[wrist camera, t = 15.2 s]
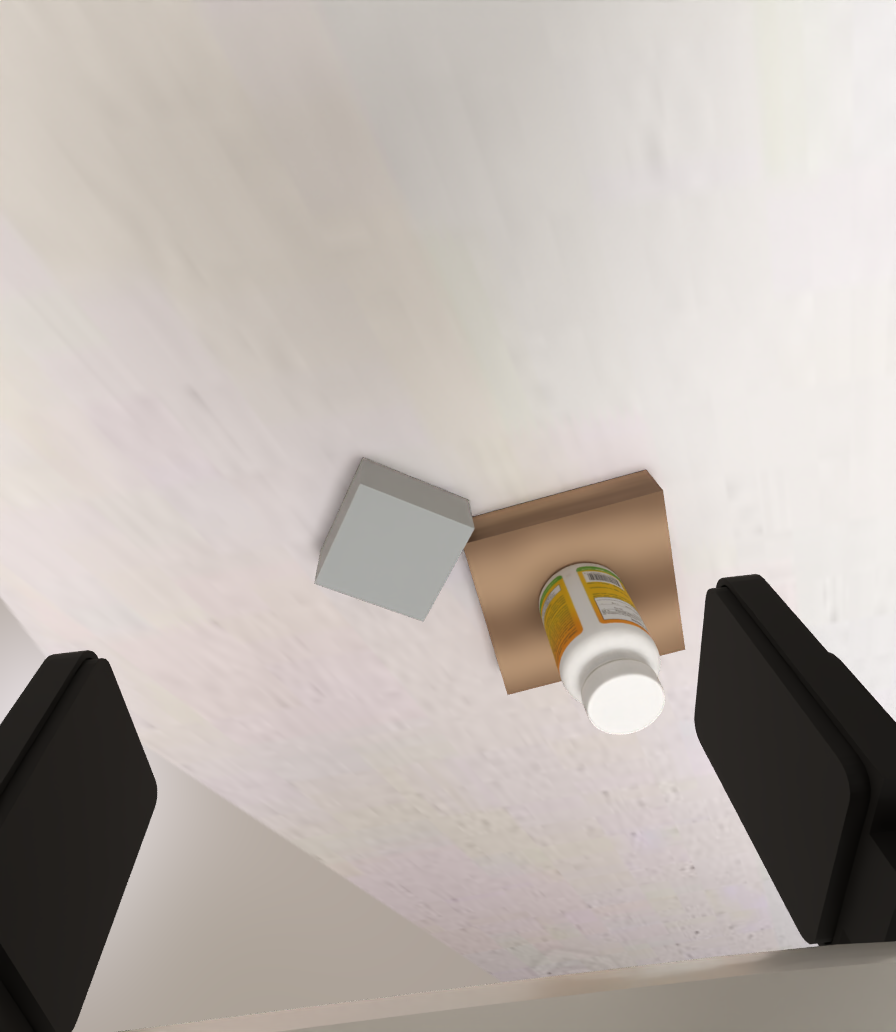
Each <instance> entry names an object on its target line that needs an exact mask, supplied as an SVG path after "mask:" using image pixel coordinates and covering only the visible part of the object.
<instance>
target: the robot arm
mask: <svg viewBox="0 0 896 1032" xmlns="http://www.w3.org/2000/svg"><path fill="white" fill-rule="evenodd" d="M694 721H695V728H696V733H697V736H698V739H699V741H700V743H701V745H702V747H703V749H704V751H705V753H706V755H707V757H708V759H709V760H710V762H711V764H712V766H713V768H714V770H715V772H716V774H717V776H718V778H719V780H720V781H721V783H722V785H723V787H724V789H725V791H726V793H727V795H728V797H729V799H730V801H731V803H732V804H733V806H734V808H735V810H736V812H737V814H738V816H739V818H740V820H741V822H742V824H743V825H744V827H745V829H746V831H747V833H748V835H749V837H750V839H751V841H752V843H753V845H754V847H755V848H756V850H757V852H758V854H759V856H760V858H761V860H762V862H763V864H764V866H765V868H766V869H767V871H768V873H769V875H770V877H771V879H772V881H773V883H774V885H775V887H776V889H777V890H778V892H779V894H780V896H781V898H782V900H783V902H784V904H785V906H786V908H787V910H788V912H789V913H790V915H791V917H792V919H793V921H794V923H795V925H796V927H797V929H798V931H799V932H800V934H801V936H802V937H803V938H804V940H805V941H806V942H807V943H809V944H816V943H818V945H819V946H817V947H807V948H797V949H788V950H778V951H768V952H758V953H748V954H738V955H728V956H719V957H710V958H701V959H693V960H685V961H676V962H668V963H660V964H651V965H643V966H635V967H626V968H618V969H610V970H601V971H593V972H585V973H576V974H568V975H560V976H551V977H543V978H534V979H526V980H518V981H510V982H502V983H494V984H486V985H478V986H470V987H463V988H455V989H446V990H439V991H430V992H422V993H414V994H407V995H398V996H390V997H382V998H375V999H366V1000H358V1001H351V1002H343V1003H335V1004H327V1005H319V1006H312V1007H304V1008H295V1009H287V1010H280V1011H272V1012H265V1013H257V1014H249V1015H242V1016H234V1017H227V1018H219V1019H211V1020H204V1021H196V1022H189V1023H181V1024H174V1025H166V1026H158V1027H150V1028H143V1029H135V1030H128V1031H120V1032H896V722H895V721H894V720H893V719H892V718H891V716H890V715H889V714H888V713H887V712H886V711H885V710H884V709H883V707H882V706H881V705H880V704H879V703H878V702H877V701H876V700H875V698H874V697H873V696H872V695H871V694H870V693H869V692H868V690H867V689H866V688H865V687H864V686H863V685H862V684H861V683H860V681H859V680H858V679H857V678H856V677H855V676H854V675H853V674H852V672H851V671H850V670H849V669H848V668H847V667H846V666H845V665H844V663H843V662H842V661H841V660H840V659H839V658H837V657H836V656H835V655H834V654H832V653H829V652H828V651H827V650H826V649H825V648H824V647H823V646H822V644H821V643H820V642H819V641H818V640H817V639H816V638H815V636H814V635H813V634H812V633H811V632H810V631H809V630H808V628H807V627H806V626H805V625H804V624H803V623H802V622H801V620H800V619H799V618H798V617H797V616H796V615H795V614H794V613H793V611H792V610H791V609H790V608H789V607H788V606H787V605H786V603H785V602H784V601H783V600H782V599H781V598H780V597H779V595H778V594H777V593H776V592H775V591H774V590H773V589H772V587H771V586H770V585H769V584H768V583H767V582H766V581H765V579H764V578H763V577H761V576H760V575H757V574H752V575H743V576H735V577H726V578H721V579H720V580H719V581H718V583H717V586H716V588H711V589H709V590H708V591H707V594H706V600H705V610H704V621H703V631H702V642H701V652H700V663H699V673H698V684H697V695H696V705H695V716H694ZM156 800H157V785H156V781H155V778H154V775H153V773H152V770H151V768H150V765H149V762H148V760H147V758H146V755H145V752H144V750H143V747H142V745H141V742H140V740H139V737H138V734H137V732H136V729H135V727H134V724H133V722H132V719H131V717H130V714H129V712H128V709H127V706H126V704H125V701H124V699H123V696H122V694H121V691H120V689H119V686H118V684H117V681H116V678H115V676H114V673H113V671H112V668H111V666H110V664H109V662H108V661H107V660H106V659H104V658H100V659H98V657H97V655H96V654H95V653H94V652H93V651H89V650H87V651H78V652H69V653H61V654H53V655H50V656H48V657H47V658H46V659H45V661H44V662H43V664H42V665H41V666H40V668H39V669H38V671H37V672H36V674H35V675H34V676H33V678H32V679H31V681H30V682H29V684H28V685H27V687H26V688H25V690H24V691H23V692H22V694H21V695H20V697H19V698H18V700H17V701H16V703H15V704H14V706H13V707H12V708H11V710H10V711H9V713H8V714H7V716H6V717H5V719H4V720H3V722H2V723H1V724H0V1032H72V1030H73V1029H74V1026H75V1024H76V1022H77V1019H78V1017H79V1014H80V1011H81V1009H82V1005H83V1003H84V1000H85V997H86V995H87V992H88V989H89V987H90V984H91V981H92V978H93V975H94V973H95V970H96V967H97V965H98V961H99V959H100V956H101V954H102V951H103V948H104V945H105V943H106V940H107V937H108V934H109V932H110V929H111V926H112V924H113V921H114V918H115V915H116V912H117V910H118V907H119V904H120V902H121V899H122V896H123V893H124V891H125V888H126V885H127V882H128V879H129V877H130V874H131V871H132V869H133V866H134V863H135V860H136V858H137V855H138V852H139V850H140V847H141V844H142V841H143V839H144V836H145V833H146V830H147V828H148V825H149V822H150V819H151V817H152V814H153V811H154V808H155V805H156Z"/></svg>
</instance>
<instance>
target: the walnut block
mask: <svg viewBox="0 0 896 1032" xmlns="http://www.w3.org/2000/svg"><path fill="white" fill-rule="evenodd" d="M472 519H473V523H474V528H475V529H474V531H473V532H472V534H471V536H470V538H469V540H468V542H467V543H466V545H465V547H464V551H465V554H466V558H467V561H468V564H469V568H470V571H471V574H472V578H473V581H474V584H475V588H476V591H477V594H478V598H479V601H480V604H481V608H482V611H483V614H484V618H485V621H486V624H487V628H488V631H489V634H490V637H491V641H492V644H493V647H494V651H495V654H496V657H497V661H498V664H499V667H500V671H501V674H502V677H503V681H504V684H505V687H506V691H507V694H508V695H509V694H513V693H516V692H520V691H524V690H528V689H532V688H536V687H540V686H544V685H548V684H552V683H556V682H559V681H562V680H561V678H560V675H559V672H558V669H557V666H556V663H555V659H554V656H553V653H552V649H551V646H550V643H549V640H548V637H547V634H546V631H545V628H544V625H543V622H542V619H541V615H540V610H539V598H540V594H541V591H542V589H543V587H544V586H545V584H546V583H547V581H548V580H549V579H550V578H551V577H552V576H553V575H554V574H556V573H557V572H559V571H560V570H562V569H564V568H566V567H568V566H571V565H574V564H579V563H594V564H598V565H602V566H604V567H606V568H608V569H610V570H611V571H612V572H614V573H615V574H616V575H617V576H618V578H619V579H620V580H621V582H622V584H623V585H624V587H625V589H626V591H627V593H628V595H629V596H630V598H631V600H632V602H633V604H634V606H635V607H636V609H637V611H638V613H639V615H640V617H641V619H642V620H643V622H644V624H645V626H646V628H647V630H648V632H649V633H650V635H651V637H652V639H653V641H654V643H655V645H656V647H657V649H658V652H659V655H660V656H661V655H665V654H669V653H673V652H677V651H681V650H685V645H684V638H683V631H682V624H681V616H680V609H679V602H678V595H677V588H676V581H675V573H674V566H673V559H672V552H671V545H670V538H669V530H668V523H667V516H666V509H665V502H664V495H663V490H662V489H661V487H660V486H659V485H658V484H657V482H656V481H655V480H654V479H653V477H652V476H651V475H650V474H649V473H648V471H647V470H644V471H640V472H637V473H633V474H629V475H625V476H622V477H618V478H614V479H611V480H607V481H603V482H600V483H596V484H592V485H589V486H585V487H581V488H578V489H574V490H570V491H567V492H563V493H559V494H556V495H552V496H548V497H545V498H541V499H537V500H534V501H530V502H526V503H523V504H519V505H515V506H511V507H508V508H504V509H500V510H497V511H493V512H489V513H486V514H482V515H478V516H475V517H472Z"/></svg>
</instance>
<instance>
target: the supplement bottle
mask: <svg viewBox="0 0 896 1032" xmlns="http://www.w3.org/2000/svg"><path fill="white" fill-rule="evenodd" d="M539 610H540V615H541V619H542V622H543V625H544V628H545V631H546V634H547V637H548V640H549V643H550V646H551V649H552V653H553V656H554V659H555V663H556V666H557V669H558V672H559V675H560V678H561V680H562V682H563V685H564V687H565V689H566V690H567V692H568V693H569V694H570V695H571V697H573V698H574V699H575V700H576V701H578V702H579V703H581V704H582V705H584V708H585V710H586V713H587V716H588V718H589V720H590V722H591V723H592V724H593V725H594V726H595V727H596V728H597V729H599V730H601V731H603V732H605V733H609V734H615V735H622V734H630V733H634V732H637V731H639V730H642V729H644V728H645V727H647V726H649V725H650V724H651V723H652V722H654V721H655V720H656V719H657V717H658V716H659V715H660V713H661V712H662V710H663V707H664V703H665V694H664V690H663V688H662V686H661V683H660V681H659V679H658V676H659V672H660V664H661V662H660V655H659V652H658V649H657V647H656V645H655V643H654V641H653V639H652V637H651V635H650V633H649V632H648V630H647V628H646V626H645V624H644V622H643V620H642V619H641V617H640V615H639V613H638V611H637V609H636V607H635V606H634V604H633V602H632V600H631V598H630V596H629V595H628V593H627V591H626V589H625V587H624V585H623V584H622V582H621V580H620V579H619V578H618V576H617V575H616V574H615V573H614V572H612V571H611V570H610V569H608V568H606V567H604V566H602V565H598V564H594V563H579V564H574V565H571V566H568V567H566V568H564V569H562V570H560V571H559V572H557V573H556V574H554V575H553V576H552V577H551V578H550V579H549V580H548V581H547V583H546V584H545V586H544V587H543V589H542V591H541V594H540V598H539Z"/></svg>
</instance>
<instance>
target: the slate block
mask: <svg viewBox="0 0 896 1032" xmlns="http://www.w3.org/2000/svg"><path fill="white" fill-rule="evenodd" d="M474 529H475V528H474V523H473V519H472V514H471V510H470V505H469V500H468V499H465V498H463V497H460V496H458V495H455V494H453V493H450V492H448V491H445V490H443V489H440V488H438V487H435V486H433V485H430V484H428V483H425V482H423V481H421V480H418V479H416V478H413V477H411V476H408V475H406V474H403V473H401V472H398V471H396V470H393V469H391V468H388V467H386V466H383V465H381V464H378V463H376V462H373V461H371V460H368V459H366V458H364V457H363V458H362V460H361V462H360V465H359V467H358V469H357V471H356V474H355V476H354V478H353V480H352V482H351V485H350V487H349V489H348V491H347V493H346V496H345V498H344V500H343V502H342V505H341V507H340V509H339V511H338V513H337V516H336V518H335V520H334V522H333V524H332V527H331V529H330V531H329V533H328V536H327V538H326V540H325V542H324V544H323V547H322V549H321V551H320V556H319V561H318V567H317V572H316V578H315V583H314V584H317V585H320V586H322V587H325V588H328V589H331V590H334V591H337V592H340V593H342V594H345V595H348V596H351V597H354V598H357V599H360V600H362V601H365V602H368V603H371V604H374V605H377V606H380V607H383V608H385V609H388V610H391V611H394V612H397V613H400V614H403V615H405V616H408V617H411V618H414V619H417V620H420V621H423V622H424V620H425V618H426V616H427V614H428V613H429V611H430V609H431V607H432V605H433V604H434V602H435V600H436V598H437V596H438V594H439V593H440V591H441V589H442V587H443V585H444V584H445V582H446V580H447V578H448V576H449V574H450V573H451V571H452V569H453V567H454V565H455V563H456V562H457V560H458V558H459V556H460V554H461V553H462V551H463V549H464V547H465V545H466V543H467V542H468V540H469V538H470V536H471V534H472V532H473V531H474Z"/></svg>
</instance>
